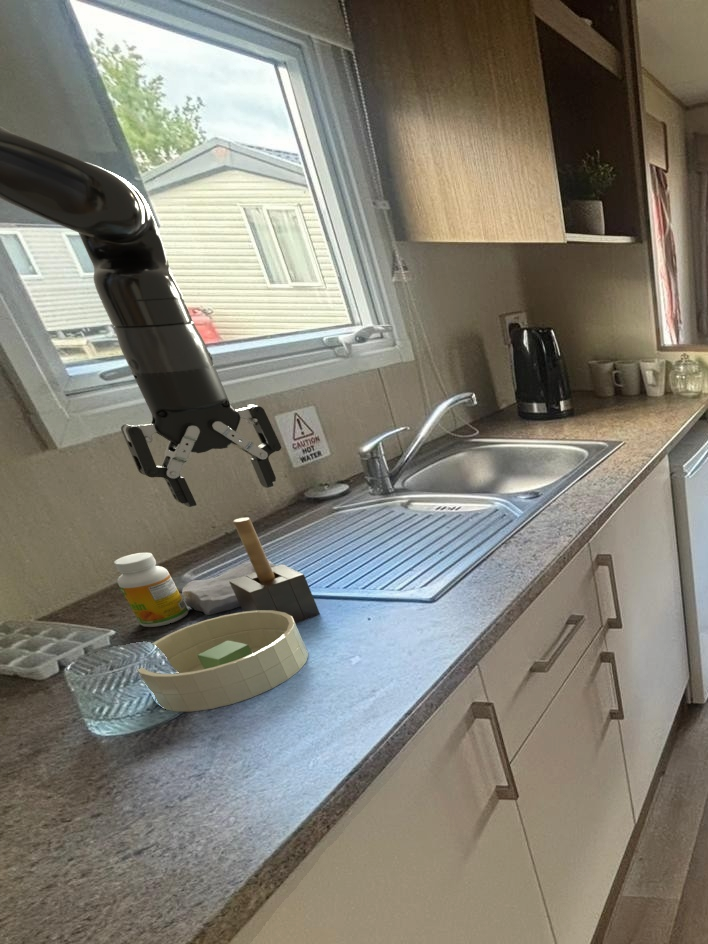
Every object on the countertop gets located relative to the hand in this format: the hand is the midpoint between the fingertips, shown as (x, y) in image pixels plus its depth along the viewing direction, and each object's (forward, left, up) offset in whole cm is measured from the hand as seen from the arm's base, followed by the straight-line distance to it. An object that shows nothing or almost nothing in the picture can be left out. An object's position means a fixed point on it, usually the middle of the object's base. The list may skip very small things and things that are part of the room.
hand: (230, 495), depth 86 cm
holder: (0, 0, -19) cm, 19 cm away
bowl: (-10, -11, -19) cm, 24 cm away
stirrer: (0, 0, -19) cm, 19 cm away
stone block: (0, +13, -19) cm, 23 cm away
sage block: (-10, -11, -18) cm, 24 cm away
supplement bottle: (-9, +16, -19) cm, 27 cm away
